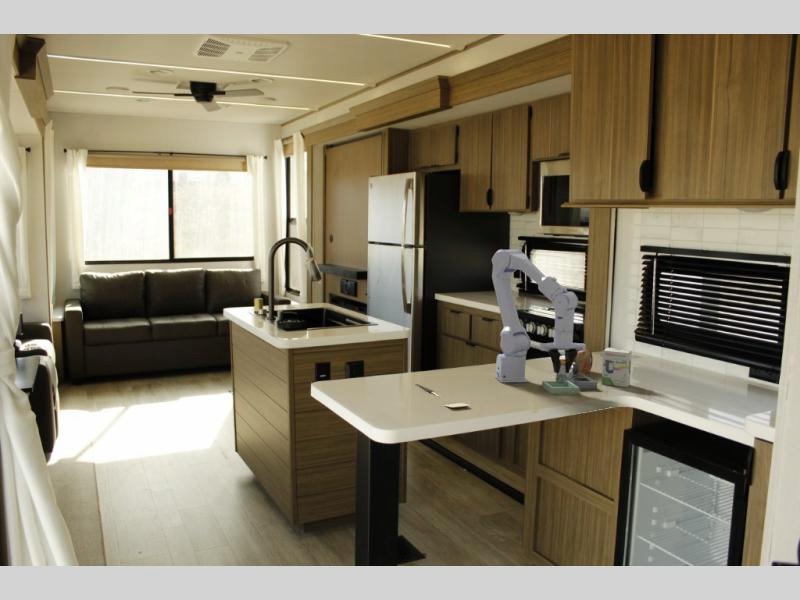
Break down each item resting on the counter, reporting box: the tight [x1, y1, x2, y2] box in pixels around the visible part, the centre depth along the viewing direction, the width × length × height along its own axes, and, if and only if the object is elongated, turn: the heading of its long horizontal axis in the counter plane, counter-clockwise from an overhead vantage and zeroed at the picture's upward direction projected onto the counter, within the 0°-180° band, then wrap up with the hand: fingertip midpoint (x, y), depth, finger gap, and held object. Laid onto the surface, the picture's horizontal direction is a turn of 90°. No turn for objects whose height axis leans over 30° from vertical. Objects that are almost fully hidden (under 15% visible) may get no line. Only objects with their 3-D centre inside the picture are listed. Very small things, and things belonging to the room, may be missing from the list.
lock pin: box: [555, 358, 567, 384], centre depth 218 cm, size 3×3×8 cm
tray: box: [541, 380, 581, 395], centre depth 218 cm, size 9×9×2 cm
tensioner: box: [566, 362, 598, 391], centre depth 226 cm, size 7×13×7 cm, turn 8°
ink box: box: [601, 347, 633, 388], centre depth 228 cm, size 9×5×12 cm, turn 62°
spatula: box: [415, 383, 471, 408], centre depth 208 cm, size 6×29×2 cm, turn 25°
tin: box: [569, 349, 594, 375], centre depth 242 cm, size 15×3×8 cm, turn 143°
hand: (561, 372), depth 218 cm, fingers closed on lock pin, 3 cm apart
